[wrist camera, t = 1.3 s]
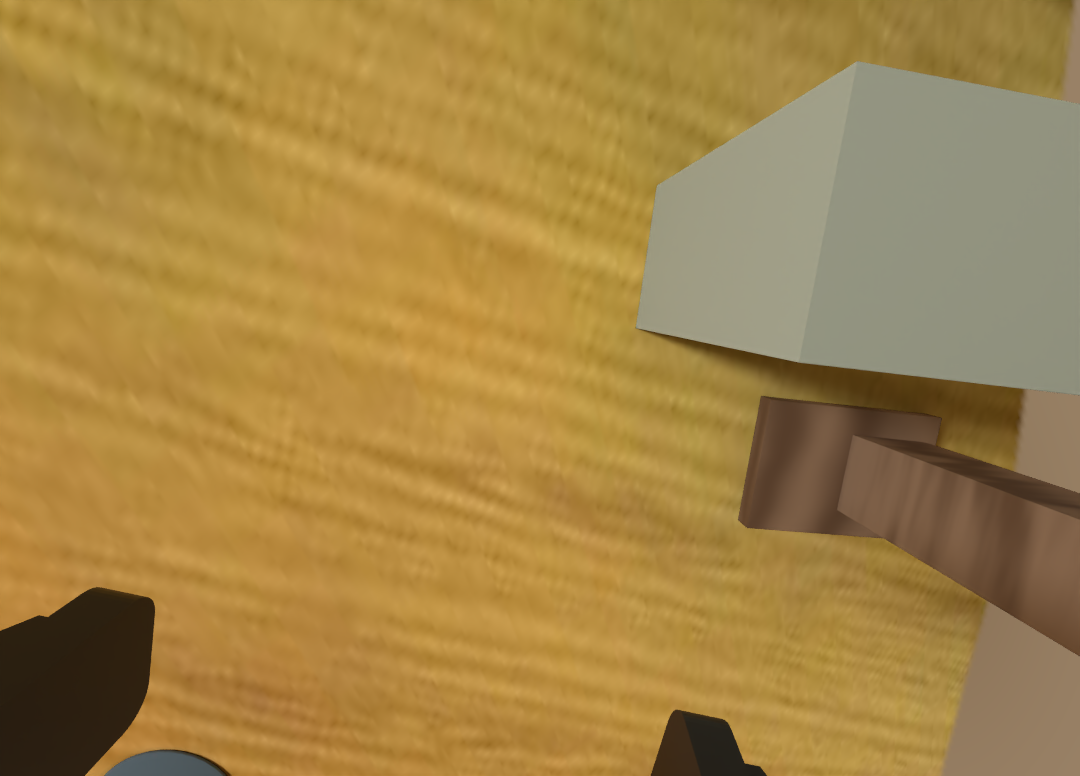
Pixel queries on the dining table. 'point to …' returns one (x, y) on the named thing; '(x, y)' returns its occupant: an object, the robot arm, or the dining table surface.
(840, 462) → the walnut stand
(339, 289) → the dining table surface
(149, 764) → the cocktail glass
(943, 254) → the pale grey-green block
